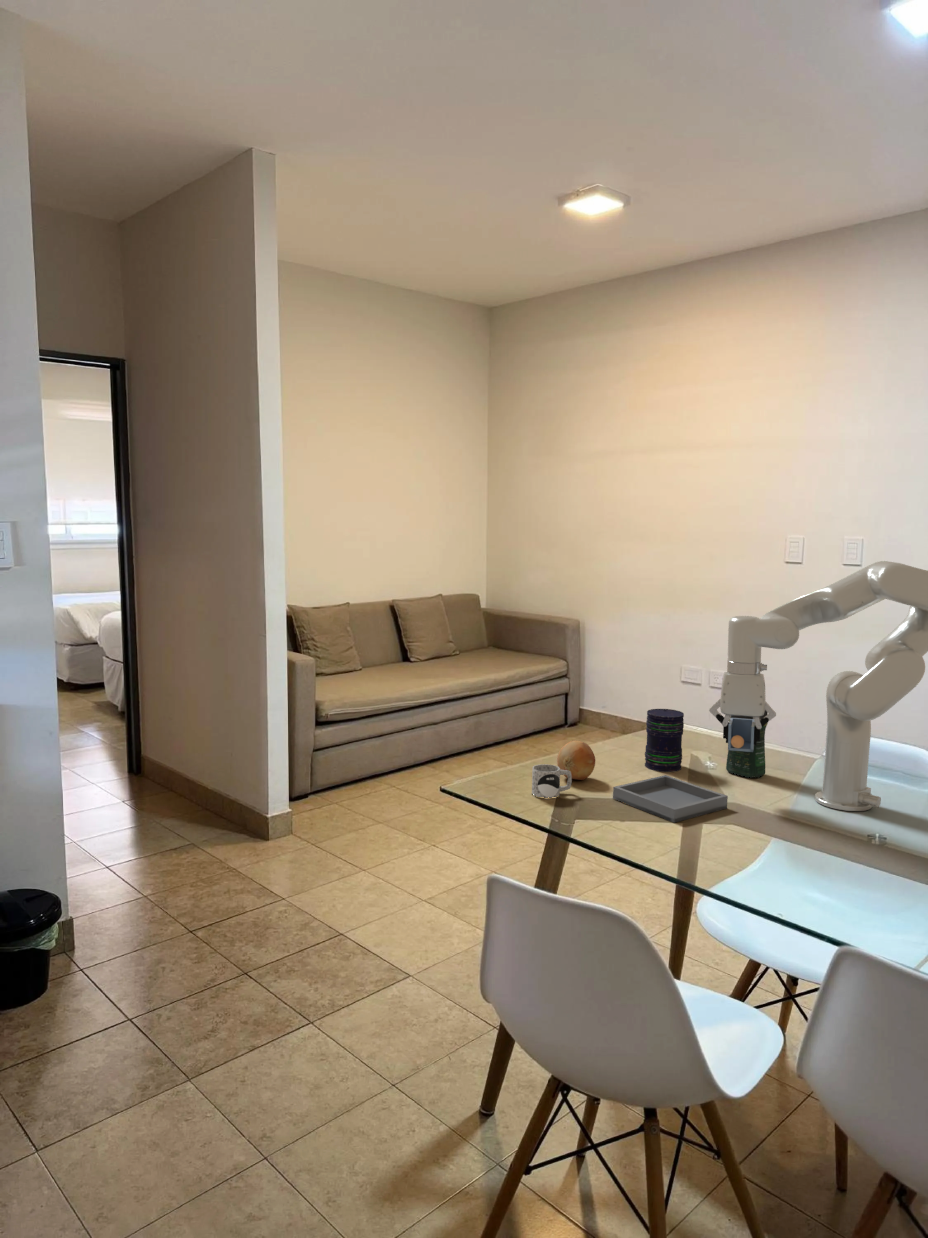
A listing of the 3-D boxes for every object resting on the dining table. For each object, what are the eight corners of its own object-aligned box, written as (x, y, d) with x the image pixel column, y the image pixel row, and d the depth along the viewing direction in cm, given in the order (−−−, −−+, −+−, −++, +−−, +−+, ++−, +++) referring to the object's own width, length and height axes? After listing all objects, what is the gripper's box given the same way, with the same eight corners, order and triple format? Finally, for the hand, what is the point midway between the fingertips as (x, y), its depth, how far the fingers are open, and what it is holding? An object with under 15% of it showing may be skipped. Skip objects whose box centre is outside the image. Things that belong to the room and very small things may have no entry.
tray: (726, 808, 202) (727, 796, 202) (674, 822, 192) (674, 809, 192) (664, 786, 218) (665, 775, 217) (612, 799, 207) (613, 787, 207)
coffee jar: (770, 775, 229) (774, 706, 226) (751, 780, 224) (755, 710, 222) (739, 767, 236) (742, 699, 234) (720, 771, 232) (724, 703, 229)
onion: (552, 782, 219) (553, 744, 218) (561, 772, 229) (562, 734, 228) (590, 787, 216) (592, 748, 215) (597, 776, 226) (599, 738, 224)
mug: (537, 800, 206) (538, 773, 205) (527, 791, 212) (528, 765, 211) (576, 797, 208) (577, 770, 208) (565, 788, 215) (566, 762, 214)
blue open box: (729, 741, 213) (730, 717, 212) (754, 743, 211) (755, 719, 210) (727, 750, 205) (728, 725, 205) (753, 752, 203) (754, 727, 203)
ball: (741, 732, 204) (748, 743, 203) (736, 733, 207) (743, 745, 206) (731, 738, 203) (738, 749, 203) (726, 740, 206) (733, 751, 206)
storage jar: (682, 773, 229) (685, 718, 228) (644, 770, 231) (646, 715, 230) (680, 763, 239) (683, 709, 237) (644, 760, 241) (646, 707, 239)
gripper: (782, 667, 207) (779, 742, 209) (707, 663, 212) (705, 736, 215) (782, 673, 200) (779, 750, 202) (704, 669, 205) (702, 743, 208)
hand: (741, 742), depth 208 cm, fingers closed on blue open box, 5 cm apart
